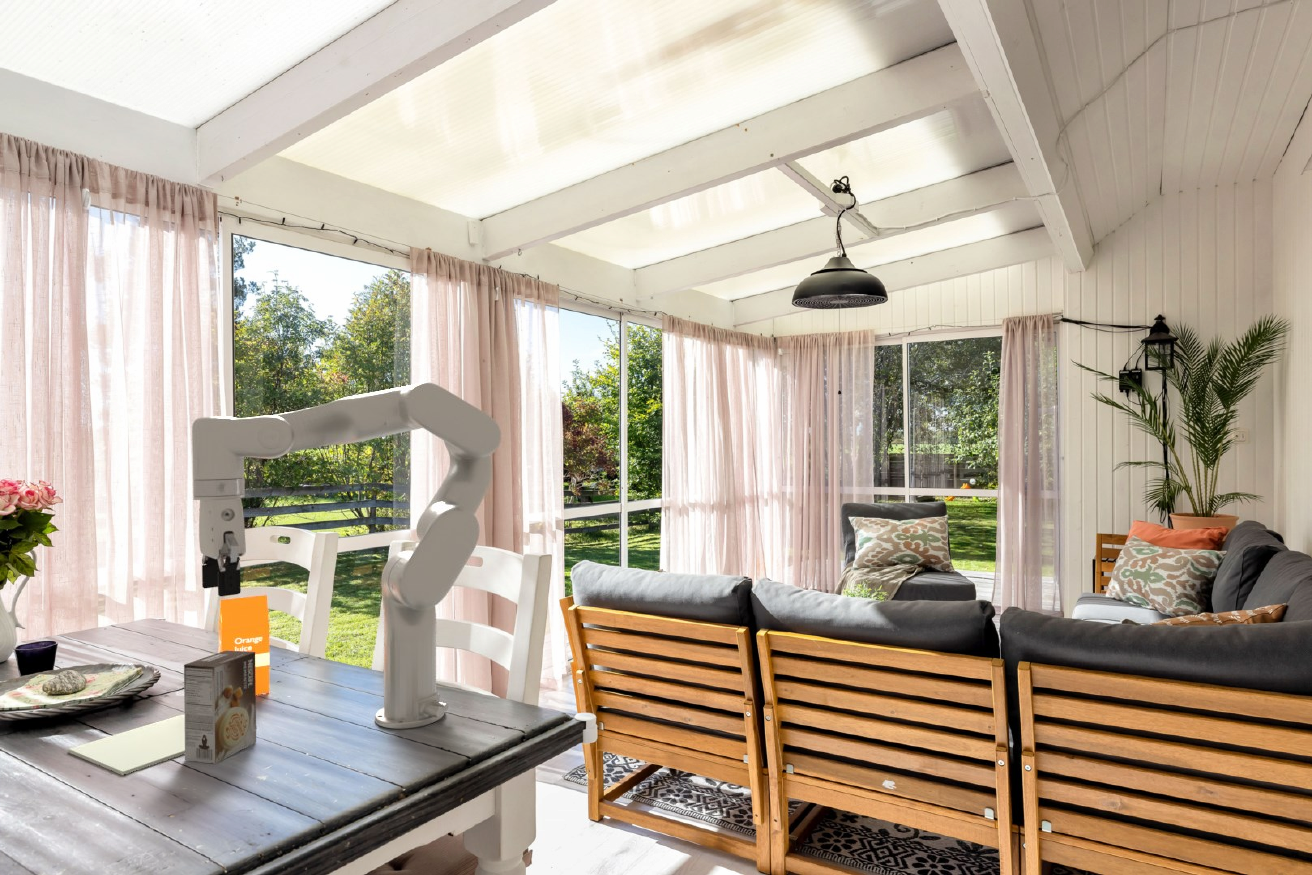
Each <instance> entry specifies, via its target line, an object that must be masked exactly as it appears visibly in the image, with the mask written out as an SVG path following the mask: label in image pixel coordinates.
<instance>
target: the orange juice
mask: <svg viewBox="0 0 1312 875" xmlns="http://www.w3.org/2000/svg"><path fill="white" fill-rule="evenodd" d="M218 620H219V621H218V652H217V653H220V652H223V651H226V650H229V651H247V652H255V671H256V695H257V694H262V693H269V694H270V663H271V662H270V658H271V657H270V619H269V607H268V595H267V594H265V595H255V596H245V597H236V598H226V599H225V598H224V599H220V606H219V619H218ZM257 696H258V695H257Z"/></svg>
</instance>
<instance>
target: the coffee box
mask: <svg viewBox="0 0 1312 875" xmlns="http://www.w3.org/2000/svg"><path fill="white" fill-rule="evenodd" d="M183 688H184V692H183V693H184V696H183V697H184V707H183V708H184V714H185V754H184V761H186V762H193V761H198V762H197V763H203V762H204V763H205V764H211V763H213V764H212V765H216V764H218V763H220V762H222V761H223V760H225V759H227V757H228V758H229V757H231V756H233V755H235V754H237V753H239V752H240V750H241V751H243V750H244V748H245V749H247V748H248V747H251V746H252V745H254V744H256V743H257V729H256V726H257V696H256V671H255V652H247V651H229V650H226V651H223V652H220V653H218V652H217V653H214V654H211V655H208V656H206V657H203V658H200V659H197V660H194V661H192V662H189V663H188V662H187V663H185V664H183ZM251 744H252V745H251ZM242 749H243V750H242Z"/></svg>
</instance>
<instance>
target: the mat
mask: <svg viewBox="0 0 1312 875" xmlns="http://www.w3.org/2000/svg"><path fill="white" fill-rule="evenodd" d="M257 728H258V726H257V725H256V730H257ZM67 750H68V752H67V753H69V754H71V755H73V756H75V757H79V758H81V759H83V760H86V761H87V762H90V763H93V764H95V765H97V766H99V765H100V766H99V767H103V768H105V770H110V771H111V770H112V772H114V773H117V774H118V775H121V776H125V775H124V774H126V775H129V774H131V772H132V773H134V772H136V770H137V771H140V770H143V769H145V768H144V767H146V768H148V767H147V766H149V765H152V766H154V764H155V765H157V763H158V764H160V763H163V762H166V761H168V759H169V760H172V759H174V757H175V758H177V757H180V755H181V756H183V755H185V754H184V753H185V713H183V714H180V715H175V716H171V717H170V718H166V719H162V720H159V721H156V722H152V723H149V724H146V725H142V726H140V727H136V728H131V729H129V730H126V731H123V732H120V733H116V734H113V735H110V736H107V737H103V738H99V739H97V740H93V741H90V742H87V743H83V744H79V745H77V746H73V747H70V748H68V749H67ZM182 754H183V755H182ZM171 758H172V759H171ZM162 761H163V762H162ZM159 762H160V763H159ZM149 767H150V766H149ZM142 768H143V769H142ZM133 771H134V772H133Z"/></svg>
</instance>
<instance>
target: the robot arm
mask: <svg viewBox="0 0 1312 875" xmlns="http://www.w3.org/2000/svg"><path fill="white" fill-rule="evenodd" d="M419 429H424V430H426V431H427V432H429V433H431V434H432V435H434V436H435V437H438V438H439V439H440V440H442V441H443V442H444V445H445V447H446V450H447V452H448V454H449V456H448V457H449V468H448V470H447V474H446V476H445V477H444V480H443V481H442V483H441V485H440V486H439V488H438V490H437V491H436V493H435V494H434V496H433V497H432V499H431V500H430V502H429V503H428V505H427V507H426V508H425V509H424V510H423V512H422V514H421V515H420V517H419V519H418V521H417V524H416V535H417V538H418V540H419V543H418V544H417V546H416V547H415V549H414V550H411V549H409V550H404V551H400V552H397V553H396V554H394V555H392V556H391V557H390V558H389V559H388V561H386V563H385V565H384V567H383V570H382V573H381V579H380V580H381V582H380V584H381V586H380V587H381V598H382V605H383V606H382V607H383V608H382V609H383V707H381V708H380V709H379V710H377V711H376V713H375V714H374V715H375V716H374V720H375V723H376V724H377V725H379V726H381V727H383V728H387V729H396V730H398V729H399V730H401V729H403V730H405V729H414V728H418V727H419V728H420V727H423V726H427V725H429V724H433V723H434V722H437V721H439V720H441V719H442V718H443V717H444V715H445V712H447V711H448V709H449V704H448V703H446V702H441V697H440V696H441V694H440V692H437V613H436V606H437V605H439V604H440V603H441V602H442V601H443V599H445V598H446V597H447V595H448V593H449V592H450V591H451V588H452V587H453V586H454V584H455V583H456V581H457V579H458V577H459V576H460V574H461V572H462V570H463V569H464V568H465V566H466V564H467V563H468V562H469V560H470V558H471V556H472V554H473V553H474V552H475V551H474V550H475V548H476V546H477V544H478V541H479V538H480V524H479V521H478V518H477V517H476V515H475V514H476V513H477V510H478V509H479V507H480V506H481V503H482V502H483V500H484V498H485V496H486V495H487V492H488V490H489V488H490V485H491V482H492V476H493V465H492V458H491V455H492V454H494V453H495V452H496V451H497V450H498V448H499V447H500V445H501V442H502V431H501V428H500V425H499V424H498V422H497V421H496V420H495V419H494V418H493V417H492V416H490V415H489V414H488V413H486V412H484V411H483V410H481V409H480V408H477V407H476V406H474V405H473V404H471V403H469V402H467V401H466V400H465V399H463V398H461V397H458V396H457V395H456V394H454V393H452V392H451V391H449V390H447V389H446V388H444V387H442V386H440V385H438V384H435V383H432V382H426V381H424V382H419V383H415V384H411V385H410V384H409V385H406V386H401V387H394V388H390V389H389V388H388V389H384V390H379V391H372V392H369V393H363V394H362V393H361V394H358V395H352V396H347V397H342V398H339V399H336V400H332V401H330V402H327V403H324V404H323V403H322V404H320V405H318V406H317V405H315V406H313V407H309V408H303V409H299V410H294V411H289V412H284V413H282V412H281V413H277V414H273V415H272V414H271V415H268V414H267V415H260V416H253V417H252V416H251V417H241V418H239V417H233V416H202V417H199V418H196V419H194V421H193V423H192V426H191V434H192V435H191V436H192V438H191V439H192V440H191V441H192V442H191V444H192V481H193V482H192V486H193V487H192V488H193V490H192V494H193V496H192V498H193V500H195V501H199V513H198V518H199V519H198V522H199V523H198V532H199V534H198V538H199V539H198V541H199V550H200V553H201V554H202V558H201V563H202V564H201V583H202V589H213V588H217V595H218V596H219V597H226V596H229V597H230V596H233V595H234V596H235V595H236V596H237V595H239V594H240V593H241V592H242V591H241V589H242V588H241V563H240V561H241V557H244V556H245V555H246V553H247V548H246V547H247V546H246V545H247V544H246V529H245V518H244V509H243V503H242V502H243V501H242V499H243V498H245V497H246V496H245V491H246V490H245V489H246V488H245V487H246V486H245V458H255V459H256V458H257V459H258V458H259V459H267V460H268V459H269V460H270V459H271V460H273V459H279V458H281V457H282V456H285V455H286V454H291V453H292V454H293V453H296V452H300V451H305V450H309V449H316V448H320V447H321V448H322V447H325V446H326V447H327V446H334V445H337V446H338V445H348V444H349V445H350V444H354V443H355V444H356V443H362V442H366V441H370V440H373V439H378V438H379V439H380V438H383V437H387V436H391V435H397V434H401V433H405V432H406V433H407V432H410V431H413V430H414V431H415V430H419Z"/></svg>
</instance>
